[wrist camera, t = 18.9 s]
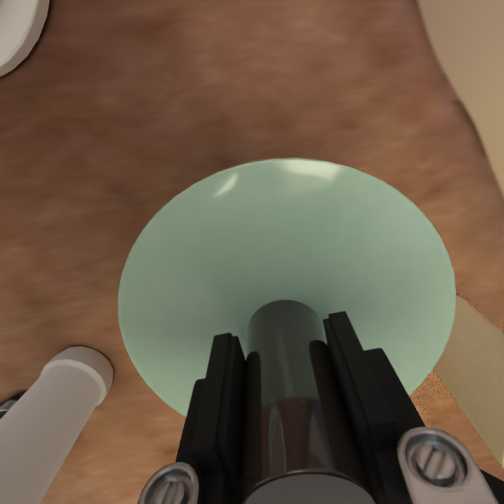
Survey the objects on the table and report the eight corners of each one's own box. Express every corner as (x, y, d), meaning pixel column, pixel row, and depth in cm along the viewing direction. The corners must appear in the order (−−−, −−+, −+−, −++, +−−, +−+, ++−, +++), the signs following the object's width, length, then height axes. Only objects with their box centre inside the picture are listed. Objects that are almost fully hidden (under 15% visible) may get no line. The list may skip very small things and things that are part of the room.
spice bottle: (404, 299, 22) (559, 488, 11) (472, 287, 22) (714, 472, 10) (407, 350, 24) (544, 562, 12) (471, 340, 23) (677, 552, 12)
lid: (74, 202, 11) (-192, 319, 4) (439, 111, 10) (814, 90, 3) (185, 438, 16) (134, 663, 9) (441, 399, 14) (593, 630, 8)
